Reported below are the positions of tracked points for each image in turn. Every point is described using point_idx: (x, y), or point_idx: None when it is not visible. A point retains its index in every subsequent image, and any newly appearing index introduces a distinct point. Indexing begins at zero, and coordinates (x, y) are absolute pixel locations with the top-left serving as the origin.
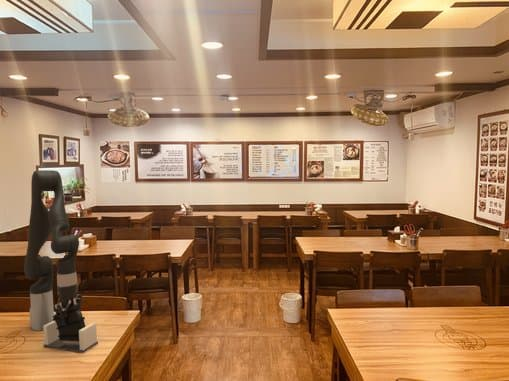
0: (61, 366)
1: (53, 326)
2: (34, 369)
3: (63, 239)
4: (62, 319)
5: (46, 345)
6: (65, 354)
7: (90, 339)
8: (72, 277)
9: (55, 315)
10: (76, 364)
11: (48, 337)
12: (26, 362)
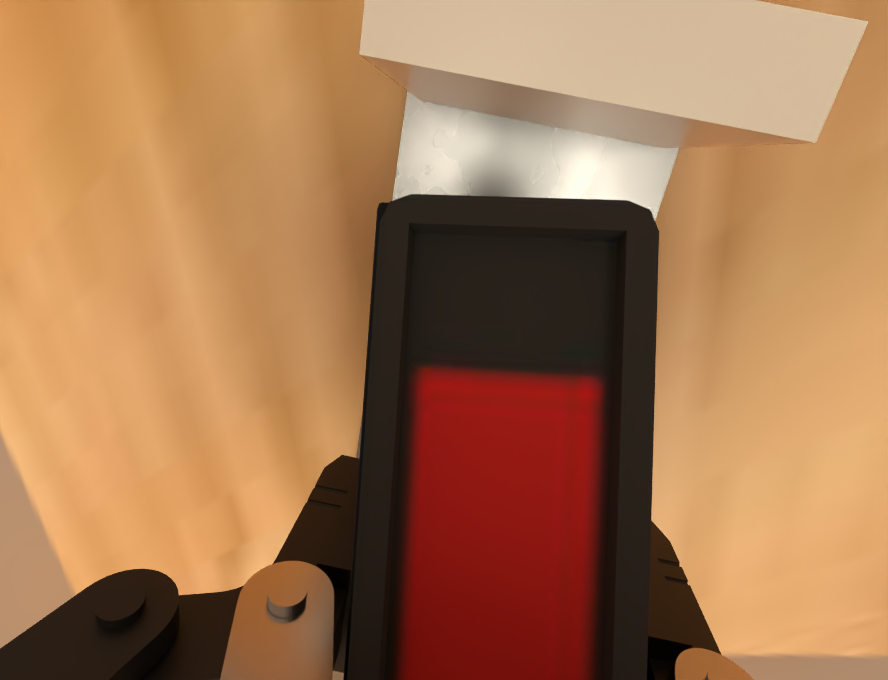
0: (140, 458)
1: (548, 102)
2: (29, 276)
3: None
4: (287, 554)
5: (407, 92)
6: (310, 389)
7: None
8: None
9: (378, 327)
10: (195, 540)
11: (429, 93)
12: (88, 99)
